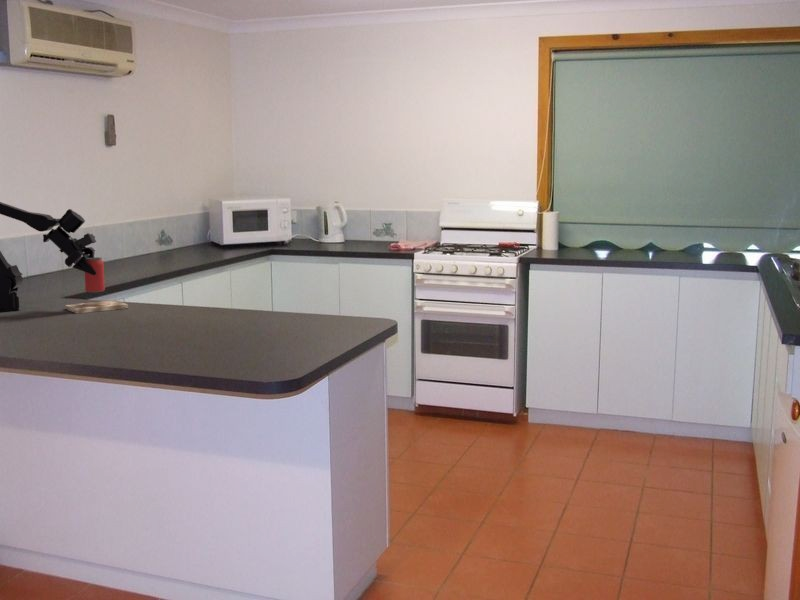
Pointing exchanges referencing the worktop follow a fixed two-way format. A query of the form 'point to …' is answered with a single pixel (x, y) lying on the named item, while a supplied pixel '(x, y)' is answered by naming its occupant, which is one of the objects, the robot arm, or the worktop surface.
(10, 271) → the robot arm
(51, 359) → the worktop surface
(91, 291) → the beer can
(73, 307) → the ash board
